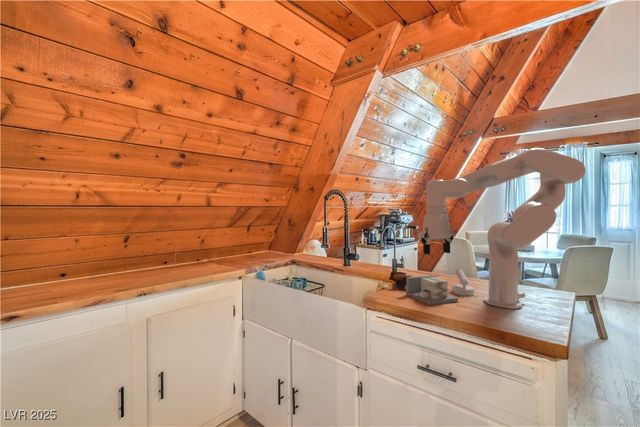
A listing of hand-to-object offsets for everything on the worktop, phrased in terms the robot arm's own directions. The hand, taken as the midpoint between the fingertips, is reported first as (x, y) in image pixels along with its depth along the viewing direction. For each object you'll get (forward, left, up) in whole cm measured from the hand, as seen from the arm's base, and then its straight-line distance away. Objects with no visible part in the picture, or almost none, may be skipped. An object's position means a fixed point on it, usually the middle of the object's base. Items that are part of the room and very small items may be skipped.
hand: (436, 253), depth 117 cm
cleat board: (+1, -2, -19) cm, 19 cm away
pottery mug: (+3, -20, -19) cm, 28 cm away
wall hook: (-18, -5, -19) cm, 27 cm away
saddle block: (+1, -1, -17) cm, 17 cm away
